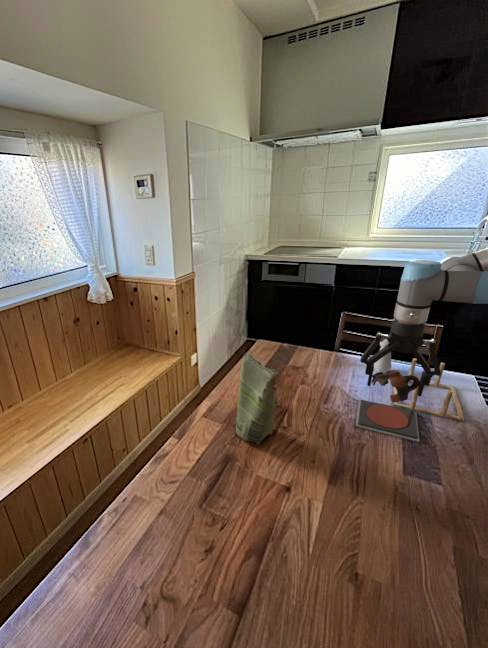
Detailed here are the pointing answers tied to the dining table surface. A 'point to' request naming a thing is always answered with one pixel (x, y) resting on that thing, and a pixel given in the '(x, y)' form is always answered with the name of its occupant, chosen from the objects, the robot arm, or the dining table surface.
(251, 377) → the pouch
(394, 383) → the pottery mug
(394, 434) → the hob
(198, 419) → the dining table surface
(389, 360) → the salt shaker
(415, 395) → the drying rack
